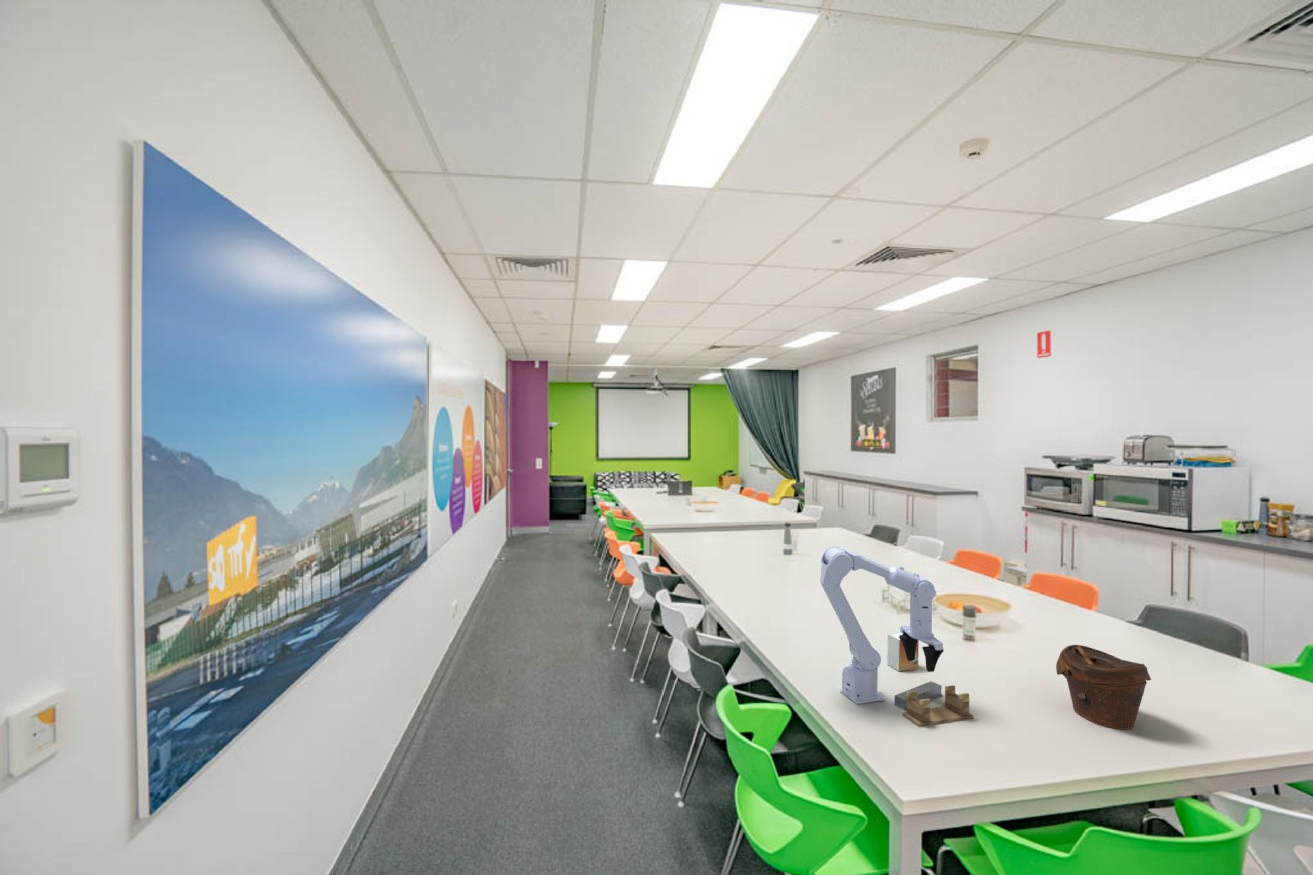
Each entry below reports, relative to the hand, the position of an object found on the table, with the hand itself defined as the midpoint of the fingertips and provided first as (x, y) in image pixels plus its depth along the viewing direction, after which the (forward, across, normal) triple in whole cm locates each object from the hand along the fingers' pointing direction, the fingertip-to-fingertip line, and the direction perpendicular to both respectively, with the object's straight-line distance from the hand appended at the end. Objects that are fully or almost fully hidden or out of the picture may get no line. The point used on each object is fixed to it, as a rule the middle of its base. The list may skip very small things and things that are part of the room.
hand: (920, 665), depth 152 cm
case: (+10, -20, -42) cm, 48 cm away
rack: (+10, -10, +3) cm, 14 cm away
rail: (+10, -1, +1) cm, 10 cm away
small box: (+10, +20, -11) cm, 24 cm away
